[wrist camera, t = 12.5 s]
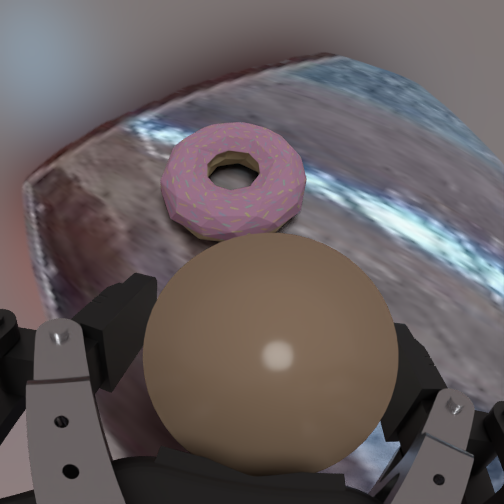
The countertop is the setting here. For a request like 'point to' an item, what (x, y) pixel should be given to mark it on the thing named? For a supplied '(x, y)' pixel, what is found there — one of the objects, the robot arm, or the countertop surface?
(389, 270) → the countertop surface
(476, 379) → the countertop surface
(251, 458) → the brown-lidded white canister
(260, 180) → the donut
